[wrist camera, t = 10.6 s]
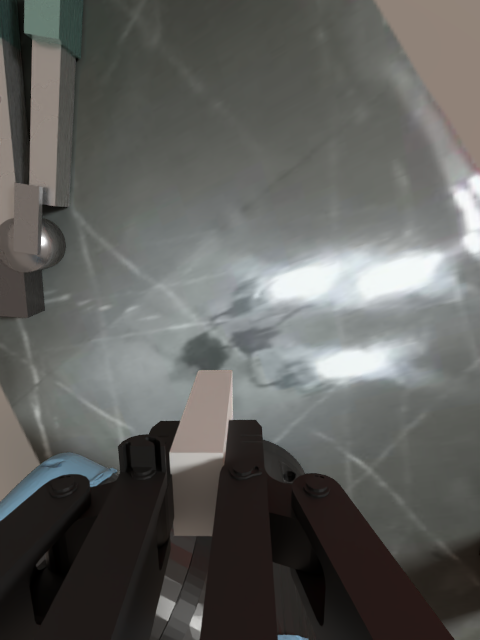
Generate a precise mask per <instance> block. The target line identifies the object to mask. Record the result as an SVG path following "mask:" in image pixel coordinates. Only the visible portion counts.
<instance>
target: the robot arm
mask: <svg viewBox="0 0 480 640" xmlns="http://www.w3.org/2000/svg"><path fill="white" fill-rule="evenodd" d="M118 451H119V463H120V474H119V475H118V474H116V472H117V470H116V469H114V468H110V469H108V468H106V467H104V466H102V465H100V464H98V463H96V462H94V461H91V460H89V459H87V458H85V457H83V456H81V455H79V454H76V453H71V452H66V453H60V454H57V455H54V456H52V457H50V458H49V459H47V460H46V461H44V462H43V463H41V464H40V465H39V466H38V467H36V469H34V470H33V471H32V472H31V473H30V474H28V475H27V476H26V477H25V478H24V479H23V480H22V481H21V482H20V483H19V484H18V485H17V486H16V487H15V488H14V489H13V490H12V491H11V492H10V493H9V494H8V495H7V496H6V497H5V498H4V499H3V500H2V501H1V502H0V640H454V638H453V637H452V636H451V634H450V633H449V631H448V630H447V629H446V627H445V626H444V625H443V623H442V622H441V621H440V619H439V618H438V617H437V615H436V614H435V613H434V611H433V610H432V609H431V607H430V606H429V604H428V603H427V602H426V600H425V599H424V598H423V596H422V595H421V594H420V592H419V591H418V590H417V588H416V587H415V586H414V584H413V583H412V582H411V580H410V579H409V578H408V576H407V575H406V573H405V572H404V571H403V569H402V568H401V567H400V565H399V564H398V563H397V561H396V560H395V559H394V557H393V556H392V555H391V553H390V552H389V551H388V549H387V548H386V547H385V545H384V544H383V542H382V541H381V540H380V538H379V537H378V536H377V534H376V533H375V532H374V530H373V529H372V528H371V526H370V525H369V524H368V522H367V521H366V520H365V518H364V517H363V515H362V514H361V513H360V511H359V510H358V509H357V507H356V506H355V505H354V503H353V502H352V501H351V499H350V498H349V497H348V495H347V494H346V493H345V491H344V490H343V489H342V487H341V486H340V485H339V484H338V483H337V482H336V481H335V480H334V479H332V478H330V477H328V476H326V475H322V474H317V473H311V474H305V473H304V471H303V469H302V467H301V466H300V464H299V463H298V462H297V460H296V459H295V458H294V457H293V456H292V455H291V454H290V453H288V452H287V451H286V450H284V449H283V448H281V447H279V446H278V445H276V444H274V443H271V442H269V441H265V440H263V438H262V427H261V426H260V424H259V423H258V422H257V421H256V420H233V389H232V370H198V373H197V376H196V378H195V381H194V384H193V387H192V390H191V393H190V395H189V398H188V401H187V404H186V407H185V410H184V412H183V415H182V418H181V421H160V422H159V423H157V424H156V425H155V426H154V427H152V429H151V431H150V433H149V435H148V434H146V435H138V436H134V437H131V438H128V439H127V440H125V441H123V442H122V443H121V444H120V445H119V446H118Z"/></svg>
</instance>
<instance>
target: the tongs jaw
mask: <svg viewBox="0 0 480 640" xmlns="http://www.w3.org/2000/svg"><path fill="white" fill-rule="evenodd" d="M82 16H83V0H25V3H24V33H25V34H26V35H27V36H28V37H30V38H31V39H32V78H31V126H30V173H29V185H27V184H21V183H15V182H14V251H16V252H22V253H28V254H34V255H40V254H41V232H42V204H44V205H50V206H59V207H69V198H70V176H71V155H72V133H73V112H74V90H75V69H76V58H80V57H81V37H82Z"/></svg>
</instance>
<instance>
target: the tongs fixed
mask: <svg viewBox="0 0 480 640" xmlns="http://www.w3.org/2000/svg"><path fill="white" fill-rule="evenodd" d="M29 173H30V150H29V138H28V127H27V115H26V103H25V91H24V79H23V67H22V55H21V44H20V32H19V20H18V8H17V0H0V316H5V317H23V318H29V317H31V316H33V315H35V314H38V313H40V312H42V311H44V310H45V306H44V294H43V282H42V270H41V269H45V268H49V267H52V266H54V265H56V264H58V263H59V262H60V261H61V259H62V258H63V256H64V253H65V248H66V244H65V238H64V236H63V234H62V232H61V230H60V229H59V228H58V226H57V225H55V224H54V223H53V222H51V221H49V220H47V219H44V218H42V232H41V254H40V255H34V254H28V253H22V252H16V251H14V182H15V183H21V184H27V185H29Z"/></svg>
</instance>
